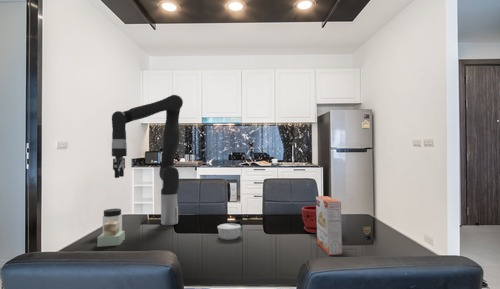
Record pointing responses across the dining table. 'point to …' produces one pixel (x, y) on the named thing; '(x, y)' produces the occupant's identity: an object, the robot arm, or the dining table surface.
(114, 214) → the jar
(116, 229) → the maple cube
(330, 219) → the cracker box
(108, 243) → the pedestal
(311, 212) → the plant pot
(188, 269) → the dining table surface
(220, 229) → the ramekin
